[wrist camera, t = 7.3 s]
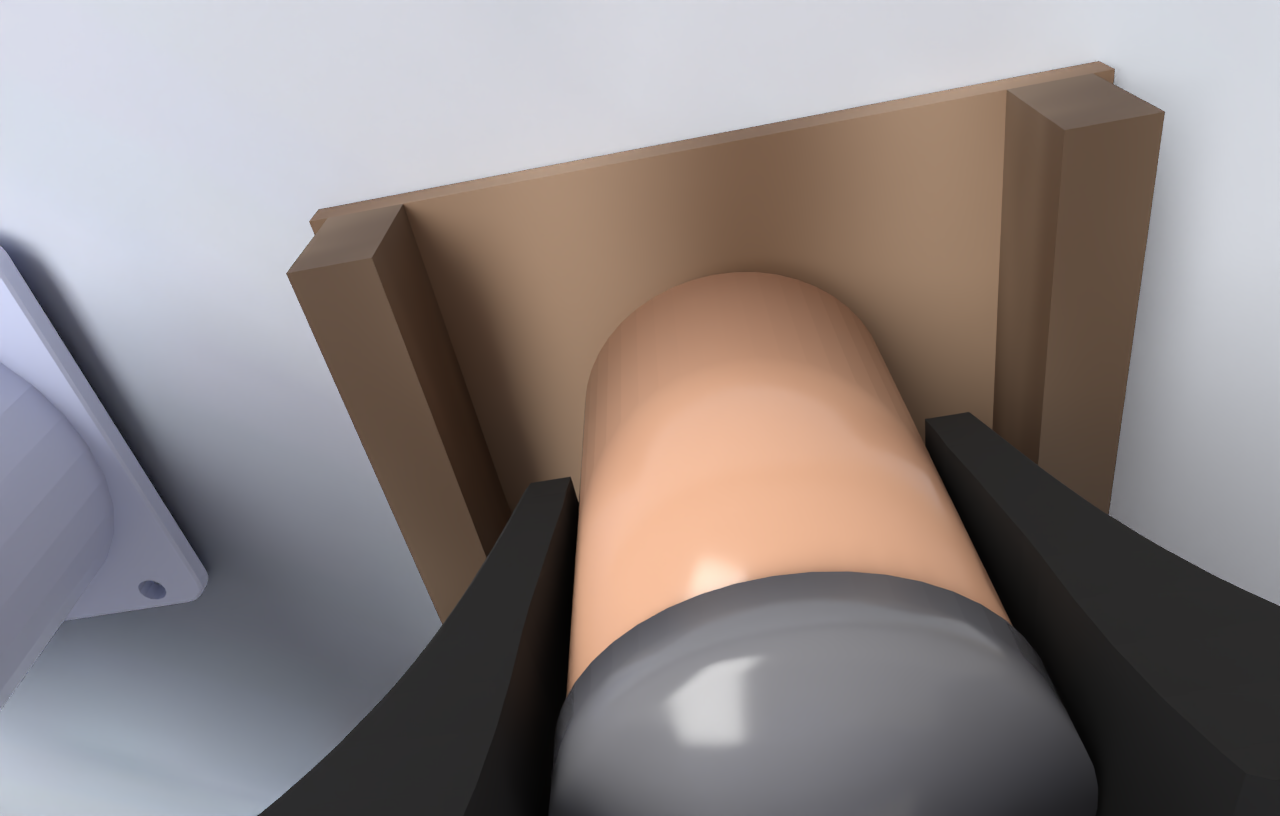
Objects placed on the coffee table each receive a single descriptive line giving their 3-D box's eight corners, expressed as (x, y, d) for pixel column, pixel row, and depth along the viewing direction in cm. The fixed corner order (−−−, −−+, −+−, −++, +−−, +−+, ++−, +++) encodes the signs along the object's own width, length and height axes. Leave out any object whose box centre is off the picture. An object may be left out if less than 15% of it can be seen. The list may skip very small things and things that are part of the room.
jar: (615, 547, 16) (611, 995, 10) (544, 300, 14) (476, 710, 7) (897, 502, 16) (1076, 942, 10) (885, 236, 13) (1125, 616, 7)
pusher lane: (606, 920, 26) (603, 1153, 22) (318, 209, 14) (170, 397, 9) (1020, 874, 25) (1108, 1109, 21) (1098, 61, 13) (1360, 191, 8)
